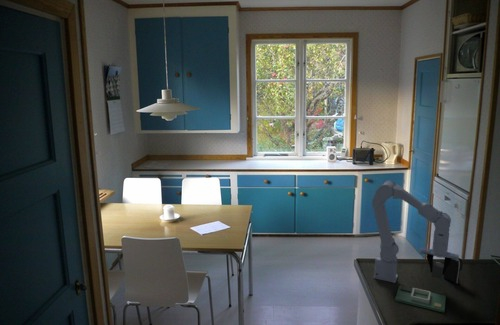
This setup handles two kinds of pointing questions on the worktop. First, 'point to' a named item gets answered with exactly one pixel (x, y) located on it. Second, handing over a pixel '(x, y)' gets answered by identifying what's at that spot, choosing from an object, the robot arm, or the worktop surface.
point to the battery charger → (453, 270)
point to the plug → (437, 270)
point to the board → (421, 298)
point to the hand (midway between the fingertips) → (437, 272)
